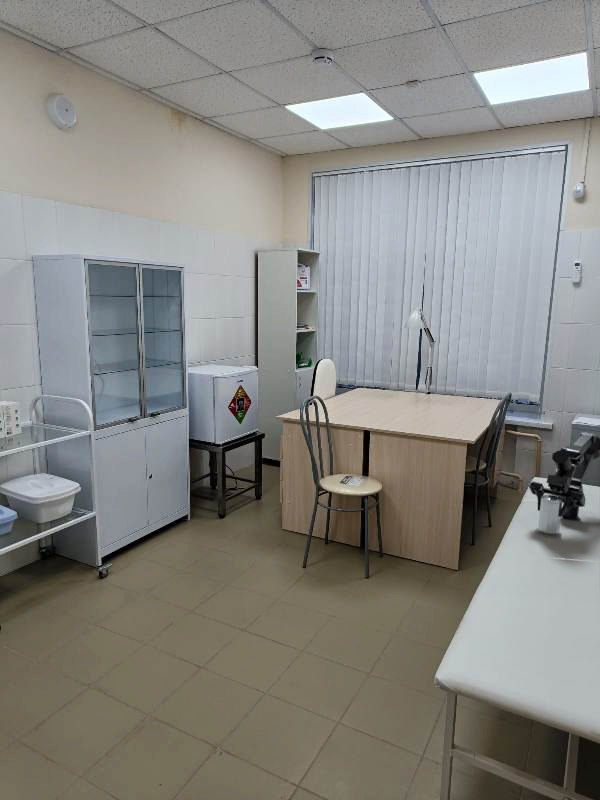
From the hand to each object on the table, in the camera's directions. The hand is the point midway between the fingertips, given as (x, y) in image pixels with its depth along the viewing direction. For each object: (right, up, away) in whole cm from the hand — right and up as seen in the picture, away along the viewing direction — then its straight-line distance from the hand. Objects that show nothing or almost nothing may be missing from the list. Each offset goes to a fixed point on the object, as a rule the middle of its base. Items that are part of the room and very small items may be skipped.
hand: (548, 513), depth 201 cm
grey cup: (+1, -6, +2) cm, 7 cm away
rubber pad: (+1, -8, +3) cm, 9 cm away
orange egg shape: (+1, -8, +2) cm, 8 cm away
